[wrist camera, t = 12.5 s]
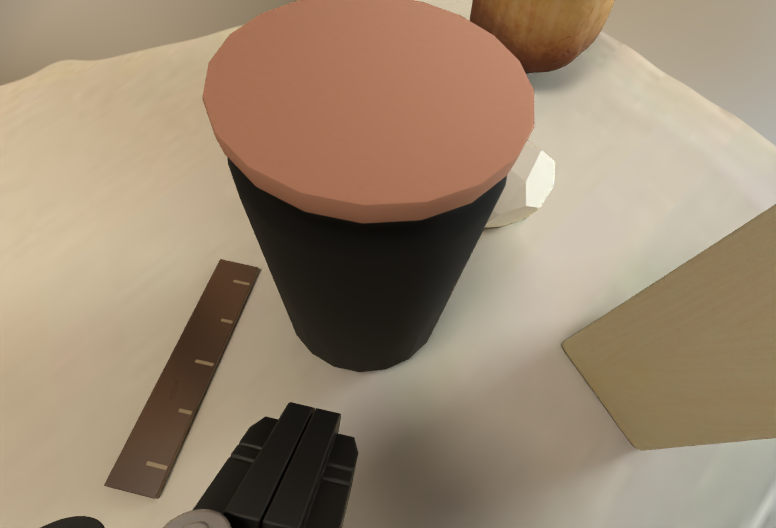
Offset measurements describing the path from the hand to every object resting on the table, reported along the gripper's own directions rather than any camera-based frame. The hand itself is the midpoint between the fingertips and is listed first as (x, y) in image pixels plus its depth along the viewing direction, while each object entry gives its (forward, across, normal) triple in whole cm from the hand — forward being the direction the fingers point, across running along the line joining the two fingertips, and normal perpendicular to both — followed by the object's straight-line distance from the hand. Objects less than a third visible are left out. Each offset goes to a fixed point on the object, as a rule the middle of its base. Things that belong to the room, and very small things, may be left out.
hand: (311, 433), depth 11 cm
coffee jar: (+17, +1, +3) cm, 17 cm away
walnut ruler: (+12, +11, +7) cm, 18 cm away
